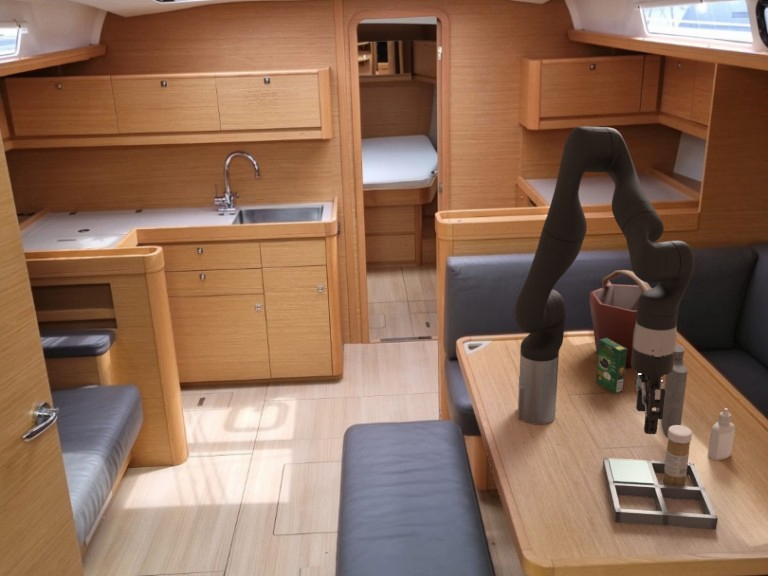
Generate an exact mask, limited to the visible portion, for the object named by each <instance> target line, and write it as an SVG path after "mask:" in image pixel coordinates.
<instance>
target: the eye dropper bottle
mask: <svg viewBox="0 0 768 576" xmlns="http://www.w3.org/2000/svg"><path fill="white" fill-rule="evenodd" d="M718 414H719V415H718V420H717V422H715V423H714V424H713V426H712V427H711V431H710V436H709V443H708V450H707V457H709V458H710V459H712V460H714V461H723V460H725V459H728V458H729V457H730V456H731V455H732V452H733V446H734V439H735V430H736V426H735V425H736V424H734V423H733V422H732V421H731V420H732V414H731V413H730V412H729V409H728V408H727V407H725V408H723V411H721V412H719V413H718Z"/></svg>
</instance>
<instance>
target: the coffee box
mask: <svg viewBox="0 0 768 576" xmlns="http://www.w3.org/2000/svg"><path fill="white" fill-rule="evenodd" d="M626 356H627V348H625V347H623V346H621V345H619V344H617V343H615V342H613V341H612V340H610V339H608V338H604V339H600V340H599V351H598V353H597V363H596V373H595V383H596V384H598V385H599V386H601V387H603V388H605V389H607V390H608V391H610V393H613V394H615V395H618V394H620V393H623V391H624V390H623V387H624V382H625V381H624V379H625V373H626V372H625V371H626V368H625V364H626Z"/></svg>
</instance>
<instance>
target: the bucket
mask: <svg viewBox="0 0 768 576" xmlns="http://www.w3.org/2000/svg"><path fill="white" fill-rule="evenodd" d="M621 275H624V276H627V277H629V278H630V279H632V280H633V281H634V282H635V283H636V284H637V285H636V284H633V285H632V284H619V283H618V284H616V283H612V282H611V281H610V280H615V279H616V278H619V277H620V276H621ZM601 285H602V287H600V288H597V289H594V290H591V291H590V292H589V308H590V315H591V322H592V328H593V330H592V331H593V336H594V337H593V338H594V344H595V351H596V352H597V353H596V354H598V351H599V340H600V339H604V338H608V339H610V340H612V341H613V342H615V343H617V344H619V345H621V346H623V347H625V348H627V356H626V364H625V369H626V370H627V369H633V368H632V366H631V357H632V346H633V336H634V329H635V325H636V320H637V309H638V300H639V297H640V295H641V294H642V293H643V292H645V291H647V290H650V289H652V288H653V287H651V286H650V284H649V282H644V281H642V280H640V279H639V278H638V277H637V276H636V275H635V274H634V272H633V270H627V269H622V270H614V271H613V272H612V273H610V274H608V275H606V276H605V277H604V278H602V280H601Z"/></svg>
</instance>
